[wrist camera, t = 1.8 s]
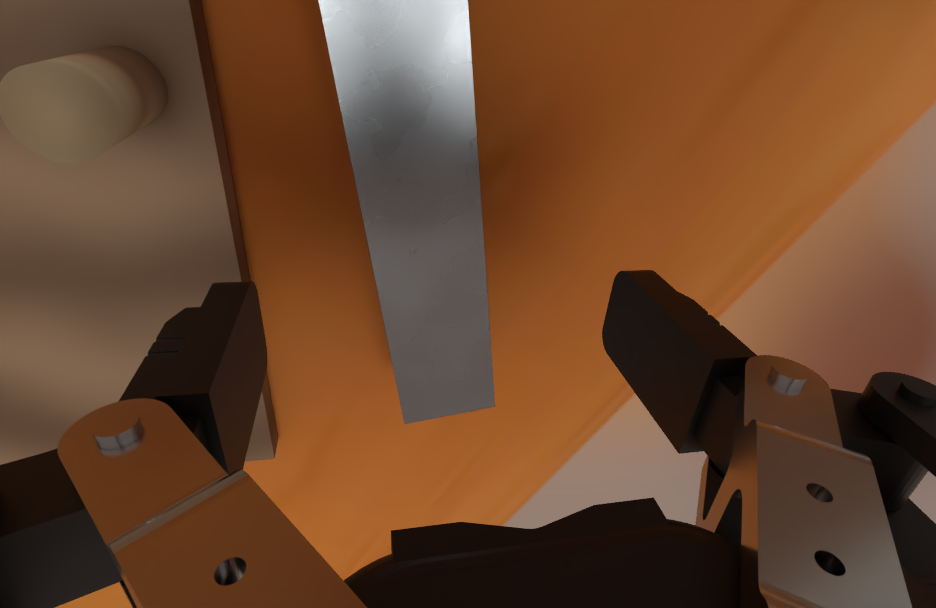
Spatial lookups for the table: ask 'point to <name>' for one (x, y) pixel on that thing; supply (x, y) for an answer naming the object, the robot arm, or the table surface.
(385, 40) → the bar
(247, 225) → the table surface
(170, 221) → the cradle
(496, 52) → the table surface
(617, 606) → the robot arm
